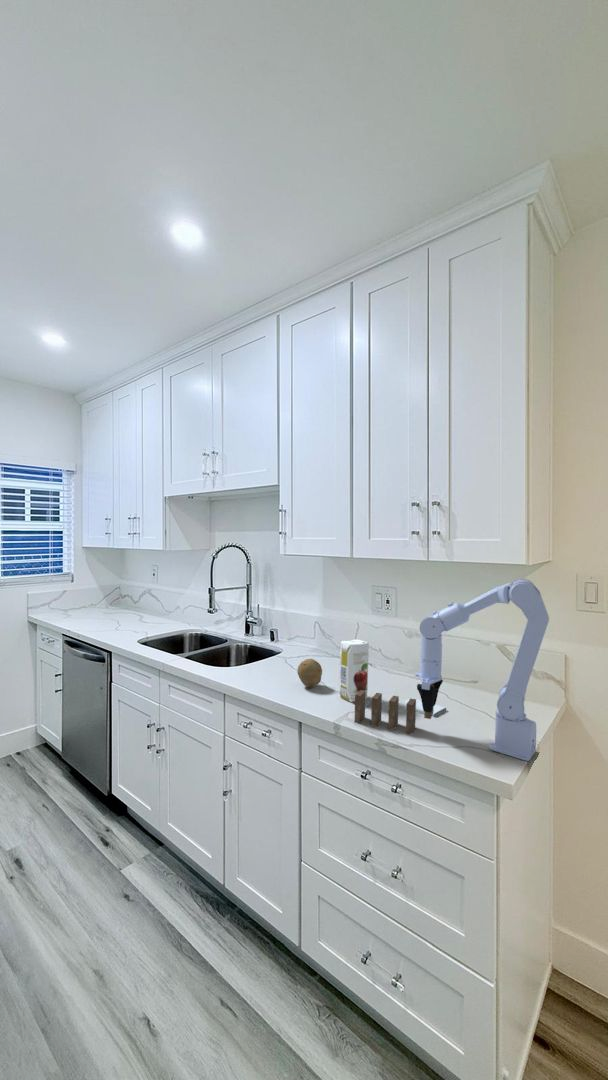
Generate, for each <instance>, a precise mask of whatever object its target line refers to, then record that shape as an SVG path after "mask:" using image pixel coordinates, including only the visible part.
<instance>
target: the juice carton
mask: <svg viewBox="0 0 608 1080" xmlns="http://www.w3.org/2000/svg"><path fill="white" fill-rule="evenodd" d="M369 644H370V643H369V642H367V641H365V640H361V639H352V640H341V642H340V656H339V658H340V659H339V660H340V662H339V697H340V698H341V699H343V700H345V701H347V702H349V703H355V695H356V694H357V693H358V692H359V691H360V690H364V691H366V694H365V700H367V699H368V690H369V689H368V687H369V685H368V683H369V656H370V655H369V649H370V648H369Z"/></svg>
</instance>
